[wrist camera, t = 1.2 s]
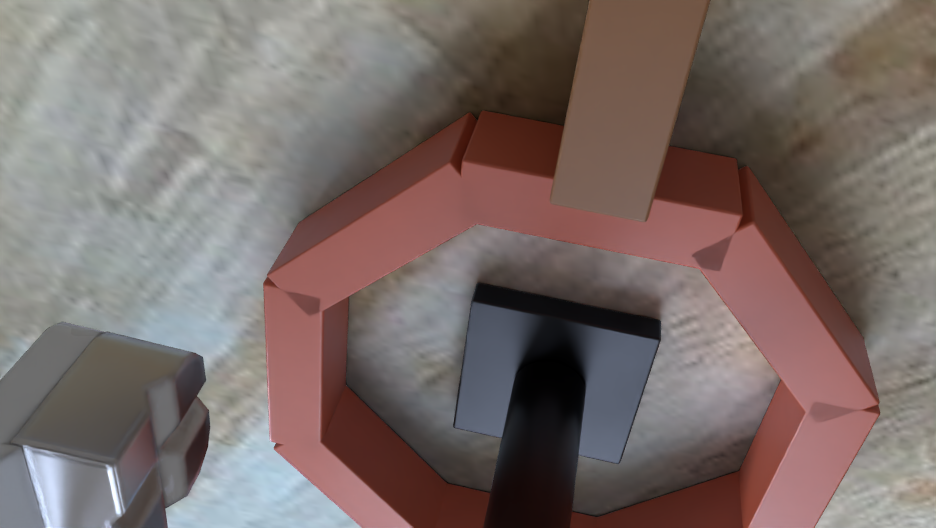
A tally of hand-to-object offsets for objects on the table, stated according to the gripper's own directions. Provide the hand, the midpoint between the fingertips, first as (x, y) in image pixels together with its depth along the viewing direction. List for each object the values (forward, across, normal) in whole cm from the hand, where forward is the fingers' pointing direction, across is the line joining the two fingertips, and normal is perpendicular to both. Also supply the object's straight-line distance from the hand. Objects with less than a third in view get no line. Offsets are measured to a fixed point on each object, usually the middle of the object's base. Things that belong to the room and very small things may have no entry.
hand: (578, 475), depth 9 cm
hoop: (+13, 0, +7) cm, 15 cm away
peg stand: (+13, 0, +10) cm, 16 cm away
